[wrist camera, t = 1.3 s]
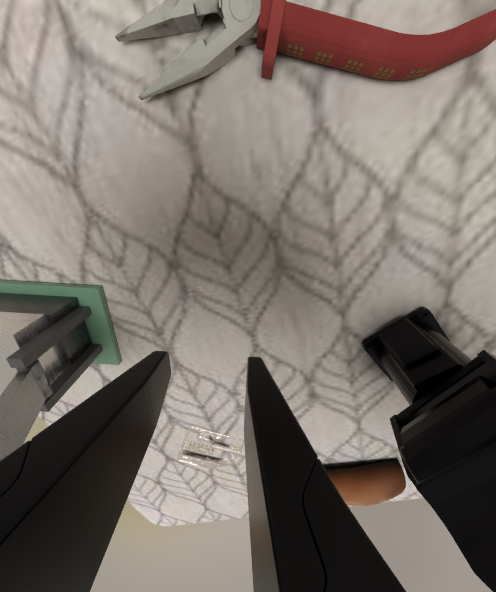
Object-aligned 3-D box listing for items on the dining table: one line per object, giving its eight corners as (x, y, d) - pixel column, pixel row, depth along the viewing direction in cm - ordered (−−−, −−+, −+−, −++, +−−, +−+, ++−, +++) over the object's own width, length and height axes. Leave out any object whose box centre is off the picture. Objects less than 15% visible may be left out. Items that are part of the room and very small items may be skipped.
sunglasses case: (279, 497, 38) (278, 537, 31) (270, 452, 38) (268, 483, 32) (395, 487, 35) (421, 528, 29) (384, 440, 36) (407, 470, 29)
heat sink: (77, 297, 21) (19, 335, 16) (96, 356, 24) (54, 403, 19) (-11, 291, 21) (-96, 328, 16) (20, 351, 24) (-42, 397, 19)
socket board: (102, 285, 21) (19, 343, 14) (121, 360, 25) (66, 435, 18) (-40, 277, 21) (-197, 330, 14) (3, 353, 25) (-100, 425, 18)
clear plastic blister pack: (179, 450, 34) (176, 461, 32) (190, 422, 31) (187, 433, 29) (231, 462, 35) (230, 473, 33) (246, 436, 32) (245, 447, 30)
